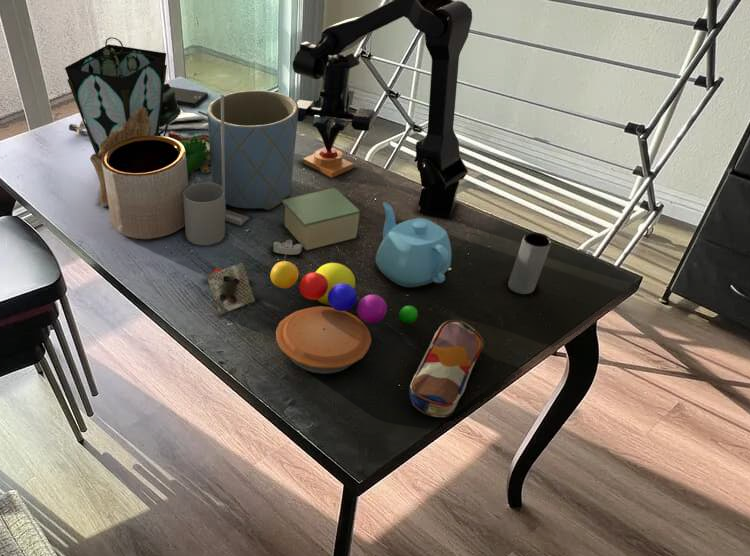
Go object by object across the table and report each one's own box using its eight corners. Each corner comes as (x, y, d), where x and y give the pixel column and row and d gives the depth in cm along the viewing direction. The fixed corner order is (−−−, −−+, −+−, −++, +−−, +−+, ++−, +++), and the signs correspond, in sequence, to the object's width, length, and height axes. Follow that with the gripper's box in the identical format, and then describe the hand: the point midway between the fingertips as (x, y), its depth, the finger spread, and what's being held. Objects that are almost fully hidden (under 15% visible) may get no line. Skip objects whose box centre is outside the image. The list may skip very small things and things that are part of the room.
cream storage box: (306, 250, 137) (308, 226, 133) (284, 225, 145) (285, 201, 141) (356, 237, 140) (359, 213, 136) (332, 213, 147) (334, 190, 143)
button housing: (353, 168, 161) (354, 156, 159) (331, 177, 159) (332, 165, 157) (323, 154, 168) (324, 142, 165) (302, 163, 165) (303, 151, 163)
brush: (211, 83, 134) (251, 92, 129) (214, 206, 152) (249, 218, 148) (200, 90, 132) (240, 99, 127) (204, 214, 150) (239, 226, 146)
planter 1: (202, 204, 152) (198, 138, 142) (173, 247, 141) (166, 180, 130) (131, 194, 158) (122, 131, 147) (98, 236, 147) (85, 170, 136)
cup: (230, 228, 145) (230, 186, 139) (216, 248, 140) (215, 205, 133) (195, 221, 148) (192, 179, 142) (179, 240, 143) (176, 198, 136)
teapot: (409, 190, 131) (479, 232, 119) (400, 237, 138) (465, 281, 126) (357, 209, 127) (424, 254, 115) (350, 256, 135) (413, 303, 123)
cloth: (127, 114, 192) (126, 106, 191) (165, 100, 198) (165, 92, 197) (184, 143, 177) (183, 134, 175) (224, 126, 182) (223, 118, 181)
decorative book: (142, 158, 167) (143, 139, 164) (202, 145, 175) (203, 126, 171) (170, 182, 159) (171, 162, 156) (231, 167, 167) (233, 148, 163)
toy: (207, 215, 155) (235, 163, 144) (177, 220, 150) (203, 167, 139) (170, 166, 161) (193, 112, 150) (139, 169, 156) (162, 114, 145)
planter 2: (198, 207, 152) (194, 121, 139) (225, 169, 165) (224, 86, 151) (280, 220, 146) (284, 131, 133) (302, 178, 159) (308, 94, 145)
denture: (176, 146, 178) (150, 152, 174) (175, 129, 176) (149, 136, 172) (188, 150, 174) (162, 157, 170) (187, 134, 172) (161, 140, 168)
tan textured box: (206, 275, 122) (193, 278, 127) (219, 314, 123) (206, 316, 128) (242, 262, 125) (228, 266, 130) (255, 300, 126) (240, 302, 131)
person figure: (121, 141, 180) (120, 129, 178) (66, 142, 181) (64, 130, 179) (126, 125, 189) (125, 113, 187) (73, 125, 190) (71, 114, 188)
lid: (304, 226, 133) (304, 224, 133) (282, 202, 141) (282, 199, 140) (359, 213, 136) (360, 210, 135) (334, 190, 143) (335, 187, 143)
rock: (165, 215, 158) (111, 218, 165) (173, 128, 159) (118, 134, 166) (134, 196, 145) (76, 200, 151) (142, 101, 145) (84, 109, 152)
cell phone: (194, 106, 194) (194, 103, 193) (140, 97, 200) (140, 94, 200) (208, 95, 199) (208, 92, 199) (155, 87, 206) (155, 84, 205)
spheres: (285, 282, 130) (260, 292, 115) (299, 245, 128) (275, 250, 113) (411, 332, 122) (401, 349, 108) (428, 293, 120) (421, 305, 105)
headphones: (187, 144, 171) (134, 148, 185) (199, 93, 171) (145, 101, 185) (151, 122, 161) (98, 129, 175) (163, 68, 161) (109, 79, 175)
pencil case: (419, 307, 112) (410, 328, 115) (411, 395, 99) (402, 416, 103) (488, 322, 110) (477, 343, 114) (489, 414, 97) (476, 434, 101)
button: (339, 157, 161) (339, 150, 160) (328, 162, 160) (328, 155, 159) (328, 152, 163) (329, 145, 162) (317, 156, 162) (318, 149, 161)
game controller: (299, 243, 139) (299, 232, 137) (309, 276, 131) (310, 265, 129) (271, 245, 139) (272, 234, 138) (279, 278, 131) (280, 267, 129)
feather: (143, 127, 157) (150, 124, 156) (189, 128, 182) (195, 125, 181) (146, 134, 157) (153, 131, 157) (191, 134, 182) (197, 131, 181)
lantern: (173, 155, 172) (164, 30, 152) (136, 184, 162) (121, 54, 142) (121, 143, 179) (105, 22, 159) (82, 170, 169) (60, 44, 149)
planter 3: (536, 295, 122) (554, 247, 115) (509, 293, 123) (525, 245, 116) (532, 280, 125) (549, 232, 118) (506, 278, 126) (521, 231, 119)
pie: (388, 355, 113) (392, 332, 109) (320, 397, 107) (323, 375, 103) (322, 311, 123) (324, 289, 119) (257, 347, 116) (257, 325, 113)
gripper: (387, 75, 151) (377, 142, 162) (307, 66, 158) (303, 130, 169) (372, 94, 144) (363, 162, 155) (290, 83, 151) (287, 149, 162)
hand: (329, 150), depth 160 cm, fingers closed, pressing on button
